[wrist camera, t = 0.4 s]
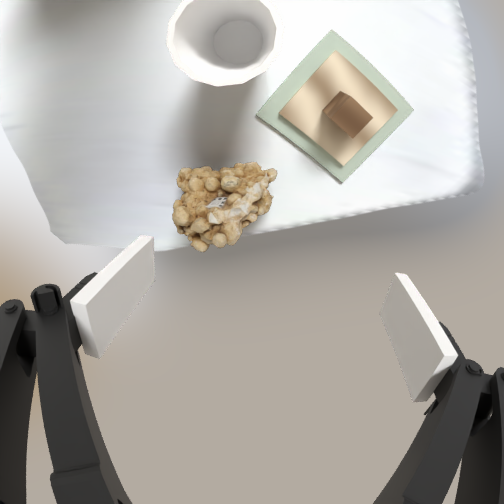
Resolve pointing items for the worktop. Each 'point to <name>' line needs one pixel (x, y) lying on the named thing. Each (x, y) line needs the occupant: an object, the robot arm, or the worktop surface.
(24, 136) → the worktop surface
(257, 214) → the mineral formation
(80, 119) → the worktop surface
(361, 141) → the lid
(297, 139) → the mat
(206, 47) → the foam cup
